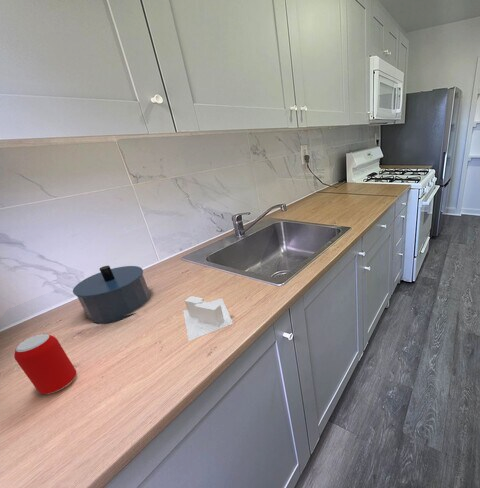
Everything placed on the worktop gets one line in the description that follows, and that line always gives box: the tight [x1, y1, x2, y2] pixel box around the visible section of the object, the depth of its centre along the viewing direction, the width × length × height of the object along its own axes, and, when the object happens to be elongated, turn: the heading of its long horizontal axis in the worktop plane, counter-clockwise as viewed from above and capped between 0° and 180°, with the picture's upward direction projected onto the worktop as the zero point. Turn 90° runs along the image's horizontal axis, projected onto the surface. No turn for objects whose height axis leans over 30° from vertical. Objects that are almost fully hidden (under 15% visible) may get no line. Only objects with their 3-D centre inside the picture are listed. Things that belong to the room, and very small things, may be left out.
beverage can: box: [13, 333, 77, 395], centre depth 55 cm, size 6×6×12 cm
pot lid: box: [72, 265, 144, 298], centre depth 78 cm, size 17×17×5 cm
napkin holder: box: [183, 295, 234, 342], centre depth 74 cm, size 15×11×6 cm
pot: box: [76, 273, 151, 325], centre depth 81 cm, size 16×16×10 cm
